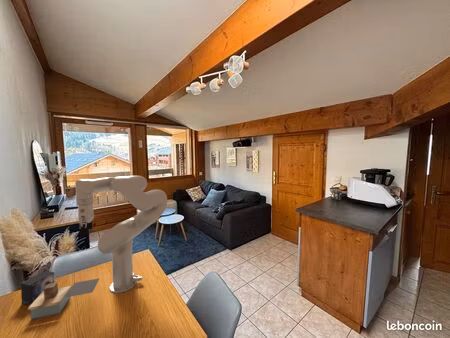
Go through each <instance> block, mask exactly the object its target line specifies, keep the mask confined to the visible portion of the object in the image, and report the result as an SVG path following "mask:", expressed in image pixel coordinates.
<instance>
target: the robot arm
mask: <svg viewBox="0 0 450 338" xmlns="http://www.w3.org/2000/svg"><path fill="white" fill-rule="evenodd" d="M74 184H75V185H74V186H75V199H76V200H75V201H76V206H78V207H77V208H78V209H77V210H78V211H77V212H78V224H79V236H81V237H82V236H83V237H84V236H87V235H88V230H92V229H93V228H94V227H93V220H94V219H95V213H94V206H93V204H94V194H98V193H102V192H108V191H113V192H114V193H117V194H121V195H122V197H124V198H125V199H126V200H127V201H128V202H129V203H130V204H131V206H133V207H134V208H135V209H137V210H139V211H138V213H137V214H135V215H133V216H132V217H130V218H128V219H125V220H123V221H121V222H119V223H117V224H115V225H114V226H113V227H112V228H110V229H109V230H108V231H106V232H105V233H104V234H103V235H101V236H100V238H99V239H98V242H97V250H98V251H99V252H100V253H101V254H103V255H111V263H112V264H111V267H112V269H111V270H112V271H111V272H112V283H111V284H110V285H109V291H110V292H111V293H114V294H122V293H126V292H128V291H130V290H131V289H133V288H134V287H136V284H137V281H138V282H139V281H142V280H143V276H142V275H141V274H137V275H135V272H134V269H133V268H134V265H133V263H134V262H133V242H134V238H136V237H137V236H139V235H140V234H141V233H143V231H145V230H146V229H147V228H149V227H150V226H151V225H152V224H154V222H156V221H157V220H159V218H160V217H161V216H162V215H163V214H164V212H165V211H166V208H167V206H168V196H167V194H166V192H165V191H164V190H162V189H151V190H149V191H144V190H146V188H147V186H148V181H147V179H146V177H144V176H142V175H127V176H126V175H124V176H122V175H121V176H114V177H113V176H111V177H110V176H109V177H100V178H99V177H98V178H93V179H92V178H81V179H77V180H75V183H74Z"/></svg>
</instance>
